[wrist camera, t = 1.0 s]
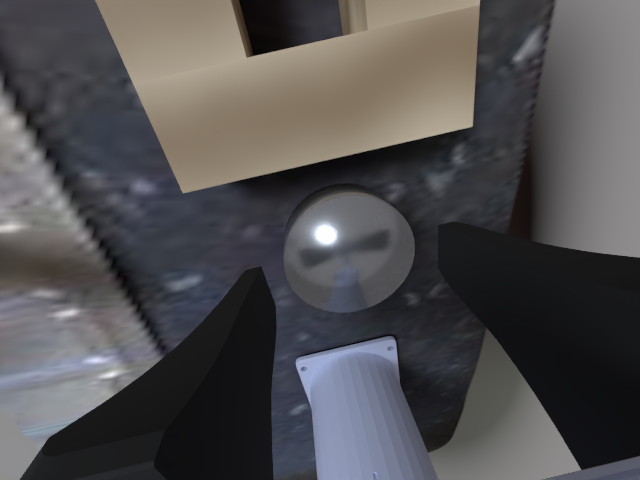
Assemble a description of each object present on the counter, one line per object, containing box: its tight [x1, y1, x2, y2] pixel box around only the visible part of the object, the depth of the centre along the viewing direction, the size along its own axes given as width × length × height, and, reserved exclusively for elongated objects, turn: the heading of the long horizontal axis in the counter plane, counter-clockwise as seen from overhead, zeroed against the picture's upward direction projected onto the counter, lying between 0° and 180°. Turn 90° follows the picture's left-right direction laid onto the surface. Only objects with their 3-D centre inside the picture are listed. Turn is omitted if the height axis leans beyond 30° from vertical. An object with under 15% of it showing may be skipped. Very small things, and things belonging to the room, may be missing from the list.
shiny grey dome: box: [284, 183, 415, 313], centre depth 14 cm, size 6×6×6 cm
